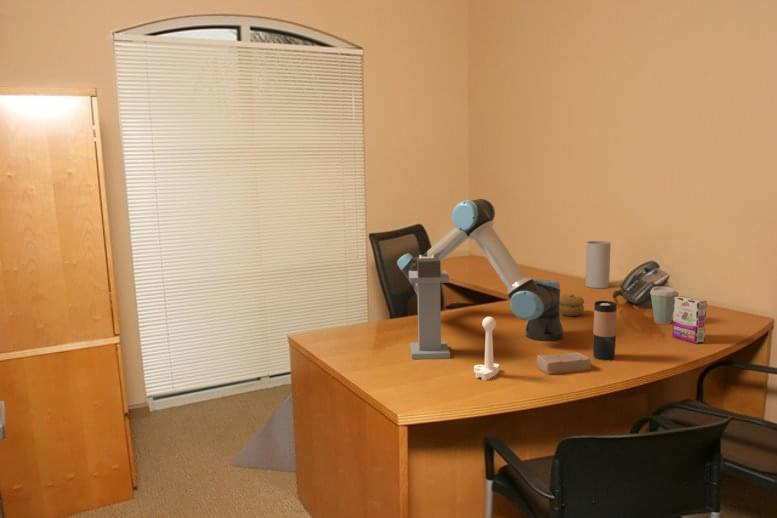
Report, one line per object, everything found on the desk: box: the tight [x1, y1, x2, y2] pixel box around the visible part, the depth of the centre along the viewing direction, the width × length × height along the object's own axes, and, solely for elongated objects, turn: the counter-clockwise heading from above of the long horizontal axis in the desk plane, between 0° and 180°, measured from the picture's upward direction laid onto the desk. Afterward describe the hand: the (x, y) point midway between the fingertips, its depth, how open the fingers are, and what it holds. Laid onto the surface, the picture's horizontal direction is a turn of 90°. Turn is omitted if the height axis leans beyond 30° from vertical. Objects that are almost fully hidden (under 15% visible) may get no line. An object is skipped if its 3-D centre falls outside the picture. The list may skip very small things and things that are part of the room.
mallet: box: [417, 257, 442, 278], centre depth 223 cm, size 23×8×6 cm, turn 0°
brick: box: [536, 352, 591, 375], centre depth 202 cm, size 16×8×5 cm, turn 104°
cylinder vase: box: [585, 240, 612, 290], centre depth 329 cm, size 12×12×25 cm
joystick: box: [473, 316, 500, 381], centre depth 197 cm, size 11×8×20 cm
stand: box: [409, 269, 451, 360], centre depth 221 cm, size 16×14×30 cm
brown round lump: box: [559, 293, 585, 317], centre depth 271 cm, size 12×12×10 cm
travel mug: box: [592, 300, 618, 361], centre depth 211 cm, size 8×8×20 cm
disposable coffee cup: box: [649, 285, 678, 325], centre depth 254 cm, size 11×11×15 cm
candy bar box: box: [671, 295, 708, 345], centre depth 229 cm, size 11×5×16 cm, turn 23°
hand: (426, 258), depth 226 cm, fingers closed on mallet, 4 cm apart
